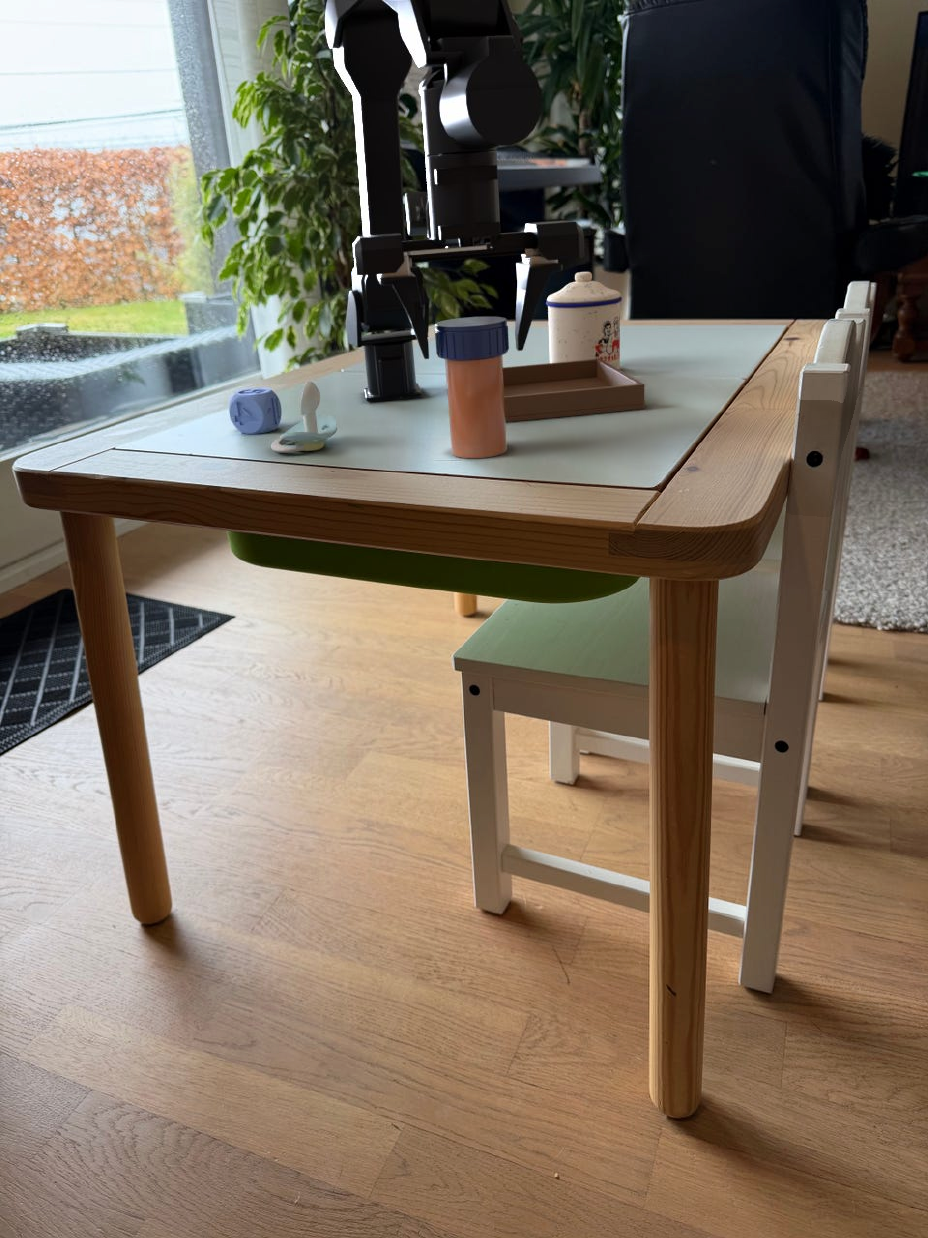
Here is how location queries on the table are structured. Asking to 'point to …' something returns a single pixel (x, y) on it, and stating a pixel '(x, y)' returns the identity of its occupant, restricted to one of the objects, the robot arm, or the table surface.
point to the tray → (568, 390)
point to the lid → (471, 338)
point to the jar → (476, 407)
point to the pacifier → (307, 425)
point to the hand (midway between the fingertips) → (473, 354)
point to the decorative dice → (255, 410)
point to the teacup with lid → (584, 322)
